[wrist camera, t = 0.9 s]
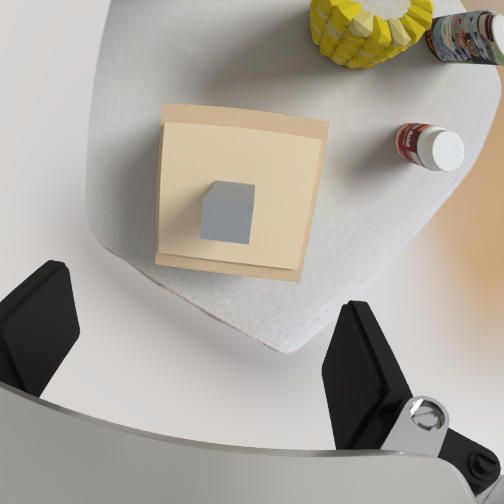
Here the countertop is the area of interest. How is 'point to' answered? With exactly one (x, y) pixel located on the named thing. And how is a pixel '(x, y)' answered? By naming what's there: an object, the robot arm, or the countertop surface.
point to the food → (367, 28)
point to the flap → (235, 193)
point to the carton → (250, 121)
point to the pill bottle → (430, 146)
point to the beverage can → (468, 38)
